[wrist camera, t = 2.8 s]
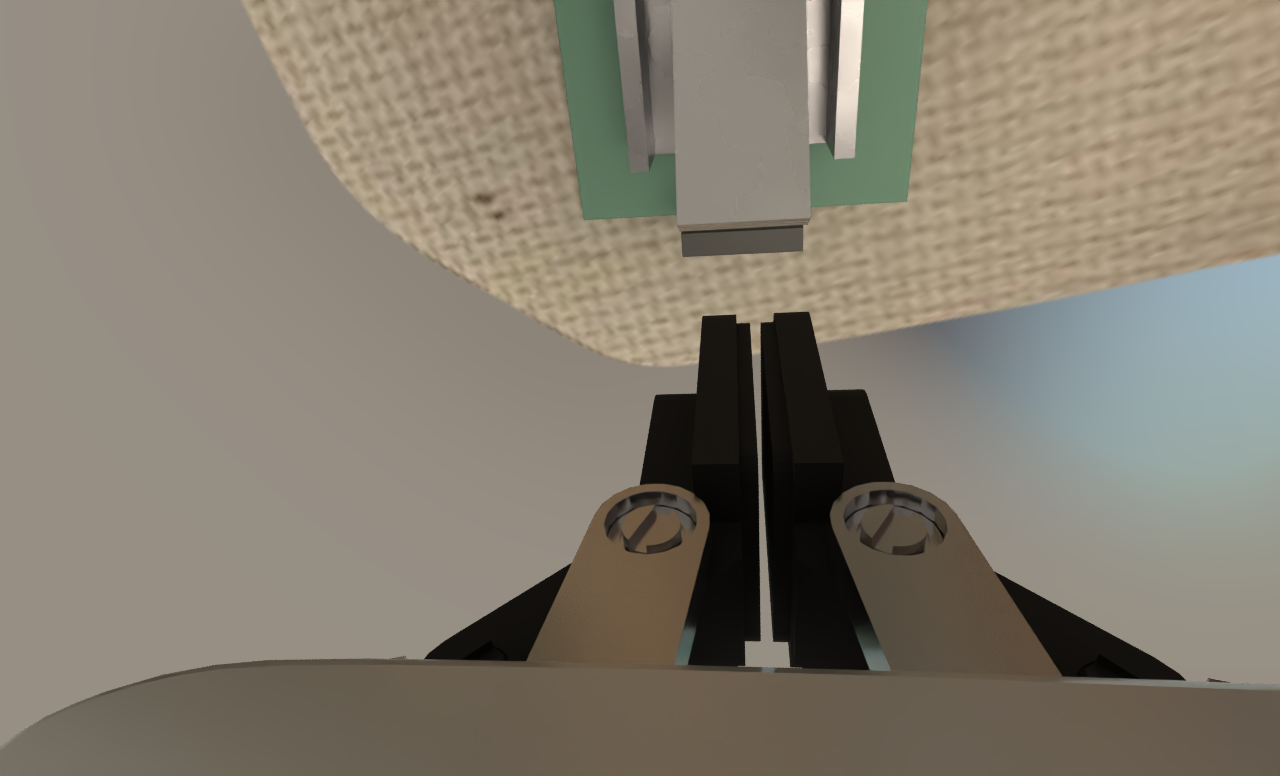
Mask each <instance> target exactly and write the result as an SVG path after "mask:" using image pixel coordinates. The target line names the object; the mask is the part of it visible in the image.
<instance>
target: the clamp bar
mask: <svg viewBox="0 0 1280 776" xmlns="http://www.w3.org/2000/svg"><path fill="white" fill-rule="evenodd" d="M672 40H673V80H674V121H675V162H676V203H677V226H678V228H679V231H699V230H717V229H736V228H754V227H773V226H791V225H808V223H809V220H810V218H811V207H810V158H809V110H808V62H807V13H806V0H672Z"/></svg>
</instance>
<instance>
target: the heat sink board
mask: <svg viewBox="0 0 1280 776" xmlns="http://www.w3.org/2000/svg"><path fill="white" fill-rule="evenodd" d="M927 2H928V0H806V13H807V62H808V110H809V158H810V207H821V206H839V205H856V204H874V203H891V202H907V197H908V187H909V178H910V168H911V158H912V148H913V139H914V129H915V119H916V109H917V100H918V90H919V80H920V70H921V61H922V51H923V41H924V31H925V22H926V12H927ZM554 6H555V13H556V20H557V28H558V35H559V42H560V50H561V57H562V64H563V72H564V79H565V86H566V94H567V101H568V108H569V116H570V123H571V130H572V138H573V145H574V152H575V159H576V167H577V174H578V181H579V189H580V196H581V203H582V211H583V218H584V220H594V219H612V218H629V217H647V216H664V215H677V203H676V162H675V121H674V80H673V40H672V0H554ZM681 239H682V254H683V257H692V256H713V255H733V254H754V253H775V252H795V251H803V225H791V226H773V227H754V228H736V229H717V230H699V231H682V233H681Z"/></svg>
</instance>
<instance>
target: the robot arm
mask: <svg viewBox="0 0 1280 776" xmlns="http://www.w3.org/2000/svg"><path fill="white" fill-rule="evenodd" d="M761 417H762V418H761V420H762V421H761V425H762V426H761V427H762V480H763V494H764V510H765V525H766V541H767V556H768V571H769V587H770V602H771V616H772V631H773V641H774V642H788V645H789V657H790V667H799V668H771V667H769V668H768V667H738V666H745V641H761V640H760V639H761V638H760V636H761V635H760V565H759V564H760V563H759V561H760V560H759V488H758V487H759V484H758V455H757V454H758V453H757V437H756V419H755V402H754V386H753V368H752V351H751V334H750V323H739V324H736V315H717V316H703V317H702V328H701V342H700V355H699V370H698V382H697V394H665V395H664V394H663V395H656V396H655V399H654V404H653V410H652V416H651V422H650V428H649V434H648V439H647V445H646V451H645V457H644V463H643V469H642V475H641V481H640V486H635V487H630V488H628V489H625V490H623V491H621V492H619V493H616V494H614V495H613V496H612V497H610V498H609V499H608V500H607V501H605V502H604V503H603V504H602V505H601V506H600V508H599V509H598V510H597V512H596V513H595V515H594V517H593V519H592V521H591V523H590V525H589V527H588V530H587V532H586V534H585V536H584V538H583V540H582V542H581V545H580V547H579V549H578V551H577V553H576V555H575V557H574V560H573V562H572V563H571V564H569V565H567V566H566V567H564V568H563V569H561V570H559V571H558V572H556V573H554V574H553V575H551V576H550V577H548V578H546V579H545V580H543V581H541V582H540V583H538V584H537V585H535V586H533V587H532V588H530V589H529V590H527V591H525V592H524V593H522V594H520V595H519V596H517V597H515V598H514V599H512V600H510V601H509V602H508V603H506V604H504V605H502V606H501V607H499V608H497V609H496V610H494V611H493V612H491V613H489V614H488V615H486V616H484V617H483V618H481V619H480V620H478V621H476V622H475V623H473V624H471V625H470V626H468V627H466V628H465V629H463V630H462V631H460V632H459V633H457V634H455V635H453V636H452V637H450V638H449V639H447V640H446V641H444V642H443V643H441V644H440V645H439V646H438V647H436V648H435V649H434V650H432V651H431V652H430V653H429V654H428V655H427V656H426V657H425V659H407V657H406V656H403V657H397V658H391V659H369V658H368V659H312V660H311V659H308V660H307V659H306V660H264V661H253V662H242V663H232V664H221V665H212V666H207V667H202V668H196V669H190V670H185V671H180V672H174V673H170V674H163V675H160V676H157V677H154V678H150V679H146V680H143V681H140V682H136V683H133V684H130V685H126V686H123V687H119V688H116V689H112V690H109V691H106V692H103V693H101V694H98V695H95V696H93V697H91V698H88V699H85V700H83V701H80V702H77V703H75V704H72V705H70V706H68V707H66V708H64V709H62V710H59V711H57V712H55V713H53V714H50V715H48V716H46V717H44V718H42V719H41V720H39V721H38V722H36V723H34V724H33V725H31V726H30V727H28V728H26V729H24V730H23V731H21V732H20V733H18V734H16V735H15V736H14V737H12V738H11V739H10V740H9V741H7V742H6V743H5V744H3V745H2V746H1V747H0V776H1280V684H1249V683H1230V682H1225V681H1220V680H1214V679H1210V678H1208V679H1207V681H1206V682H1201V681H1186V680H1185V679H1184V678H1183V677H1182V676H1181V675H1180V674H1179V673H1177V672H1176V671H1174V670H1173V669H1171V668H1170V667H1168V666H1166V665H1165V664H1164V663H1162V662H1160V661H1159V660H1157V659H1156V658H1154V657H1152V656H1151V655H1149V654H1147V653H1145V652H1143V651H1141V650H1139V649H1138V648H1136V647H1134V646H1132V645H1130V644H1128V643H1126V642H1124V641H1123V640H1121V639H1119V638H1117V637H1115V636H1113V635H1112V634H1110V633H1108V632H1106V631H1104V630H1102V629H1100V628H1098V627H1097V626H1095V625H1093V624H1091V623H1089V622H1087V621H1085V620H1084V619H1082V618H1080V617H1078V616H1076V615H1074V614H1073V613H1071V612H1069V611H1067V610H1065V609H1063V608H1061V607H1060V606H1057V605H1056V604H1054V603H1052V602H1050V601H1048V600H1046V599H1045V598H1043V597H1041V596H1039V595H1037V594H1035V593H1034V592H1031V591H1030V590H1028V589H1026V588H1024V587H1022V586H1020V585H1019V584H1017V583H1015V582H1013V581H1011V580H1009V579H1007V578H1006V577H1004V576H1002V575H1000V574H998V573H996V572H994V571H993V569H992V568H991V566H990V565H989V563H988V562H987V560H986V559H985V557H984V555H983V554H982V552H981V551H980V549H979V548H978V546H977V545H976V543H975V542H974V540H973V539H972V537H971V536H970V534H969V532H968V531H967V529H966V528H965V526H964V525H963V523H962V522H961V520H960V519H959V517H958V516H957V514H956V513H955V512H954V511H953V510H952V509H951V508H950V507H949V505H948V504H947V503H946V502H944V501H943V500H941V499H940V498H938V497H937V496H935V495H933V494H932V493H930V492H927V491H925V490H922V489H919V488H917V487H914V486H912V485H906V484H901V483H895V481H894V478H893V474H892V471H891V468H890V465H889V462H888V459H887V456H886V453H885V450H884V446H883V443H882V441H881V437H880V434H879V431H878V428H877V425H876V421H875V418H874V415H873V412H872V409H871V406H870V403H869V400H868V396H867V394H866V392H865V390H863V389H859V390H858V389H857V390H827V387H826V382H825V378H824V374H823V370H822V365H821V361H820V356H819V352H818V348H817V344H816V339H815V335H814V331H813V326H812V322H811V318H810V314H809V312H790V313H774V320H773V322H764V323H761ZM800 667H801V668H800Z"/></svg>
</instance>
